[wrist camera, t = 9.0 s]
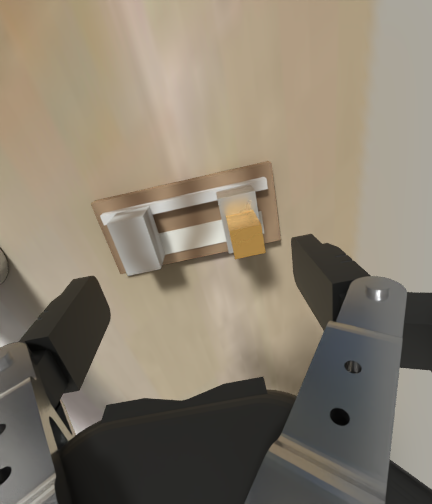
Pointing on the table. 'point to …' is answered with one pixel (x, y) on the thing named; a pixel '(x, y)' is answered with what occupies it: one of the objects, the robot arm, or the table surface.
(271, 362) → the table surface
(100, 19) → the table surface
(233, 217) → the block
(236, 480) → the robot arm
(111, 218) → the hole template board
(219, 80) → the table surface
